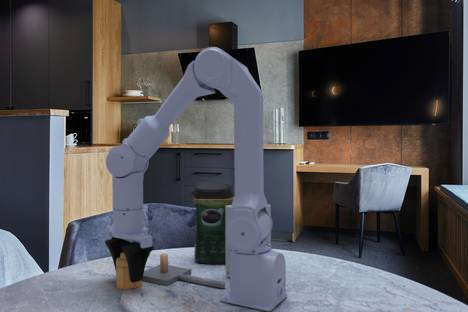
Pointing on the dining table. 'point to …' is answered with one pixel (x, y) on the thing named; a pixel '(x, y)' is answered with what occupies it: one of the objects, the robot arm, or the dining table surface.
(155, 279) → the gray square paddle
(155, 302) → the dining table surface
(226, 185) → the coffee jar
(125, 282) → the wire nut
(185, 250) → the dining table surface
